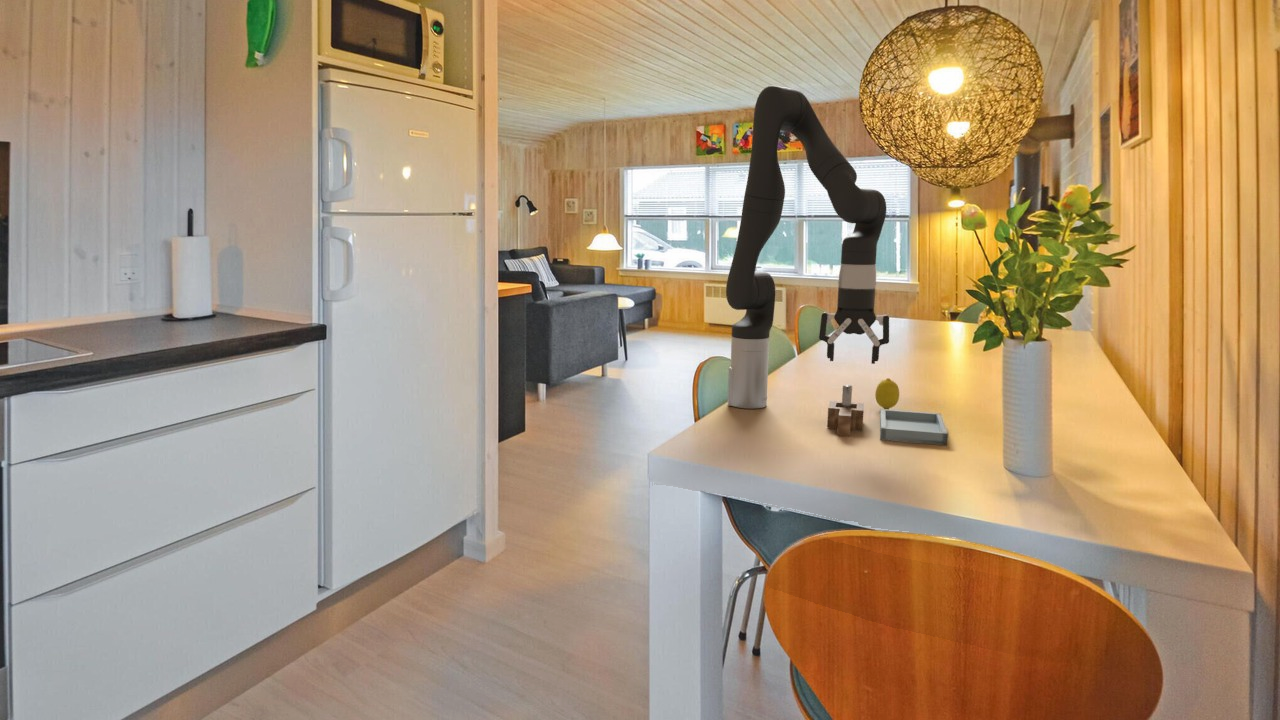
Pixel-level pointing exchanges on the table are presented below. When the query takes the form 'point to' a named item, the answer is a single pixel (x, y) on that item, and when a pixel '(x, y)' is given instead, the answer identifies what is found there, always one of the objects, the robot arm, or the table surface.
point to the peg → (846, 396)
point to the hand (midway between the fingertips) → (852, 362)
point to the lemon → (887, 393)
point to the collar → (845, 417)
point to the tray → (913, 427)
